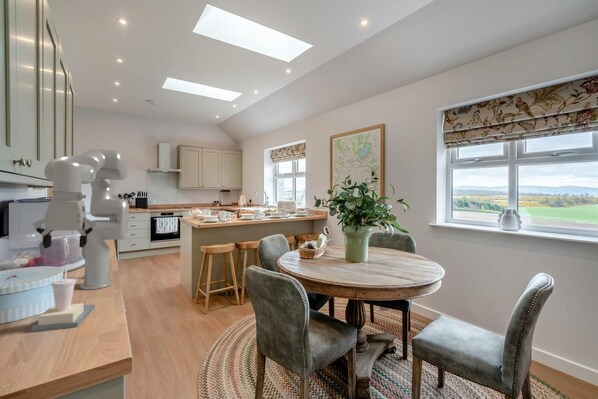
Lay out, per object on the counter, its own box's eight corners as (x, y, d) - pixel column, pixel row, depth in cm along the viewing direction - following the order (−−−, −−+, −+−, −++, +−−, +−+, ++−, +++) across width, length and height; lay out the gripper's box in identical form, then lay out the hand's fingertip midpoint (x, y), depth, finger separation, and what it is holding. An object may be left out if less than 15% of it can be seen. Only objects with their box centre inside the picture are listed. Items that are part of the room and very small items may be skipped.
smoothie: (60, 314, 89) (61, 271, 89) (45, 311, 90) (46, 270, 90) (80, 306, 95) (81, 267, 95) (65, 304, 97) (66, 265, 97)
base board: (55, 311, 101) (56, 299, 101) (94, 308, 105) (94, 296, 105) (31, 331, 86) (31, 317, 86) (77, 326, 90) (78, 313, 90)
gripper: (100, 198, 99) (99, 244, 99) (40, 196, 93) (39, 245, 93) (93, 198, 92) (91, 248, 92) (28, 196, 86) (26, 250, 86)
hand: (65, 247), depth 93 cm, fingers open, 9 cm apart
